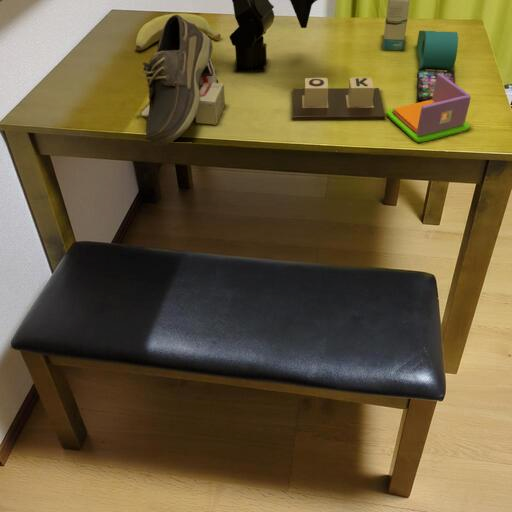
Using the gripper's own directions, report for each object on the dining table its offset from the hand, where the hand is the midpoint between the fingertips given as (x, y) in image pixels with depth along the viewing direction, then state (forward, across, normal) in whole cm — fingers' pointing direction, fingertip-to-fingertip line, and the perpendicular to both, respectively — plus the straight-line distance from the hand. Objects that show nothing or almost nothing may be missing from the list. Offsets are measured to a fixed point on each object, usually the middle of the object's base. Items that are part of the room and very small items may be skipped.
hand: (303, 19), depth 122 cm
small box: (+10, -15, +18) cm, 25 cm away
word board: (+12, -15, -7) cm, 20 cm away
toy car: (+12, -4, +23) cm, 26 cm away
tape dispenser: (+12, +6, -30) cm, 33 cm away
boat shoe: (+8, -20, +23) cm, 31 cm away
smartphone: (+12, -8, -28) cm, 31 cm away
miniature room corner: (+12, -22, -24) cm, 35 cm away
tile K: (+11, -15, -12) cm, 22 cm away
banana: (+12, +18, +31) cm, 38 cm away
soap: (+13, -16, +30) cm, 36 cm away
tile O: (+11, -15, -3) cm, 19 cm away
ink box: (+12, +16, -22) cm, 30 cm away
